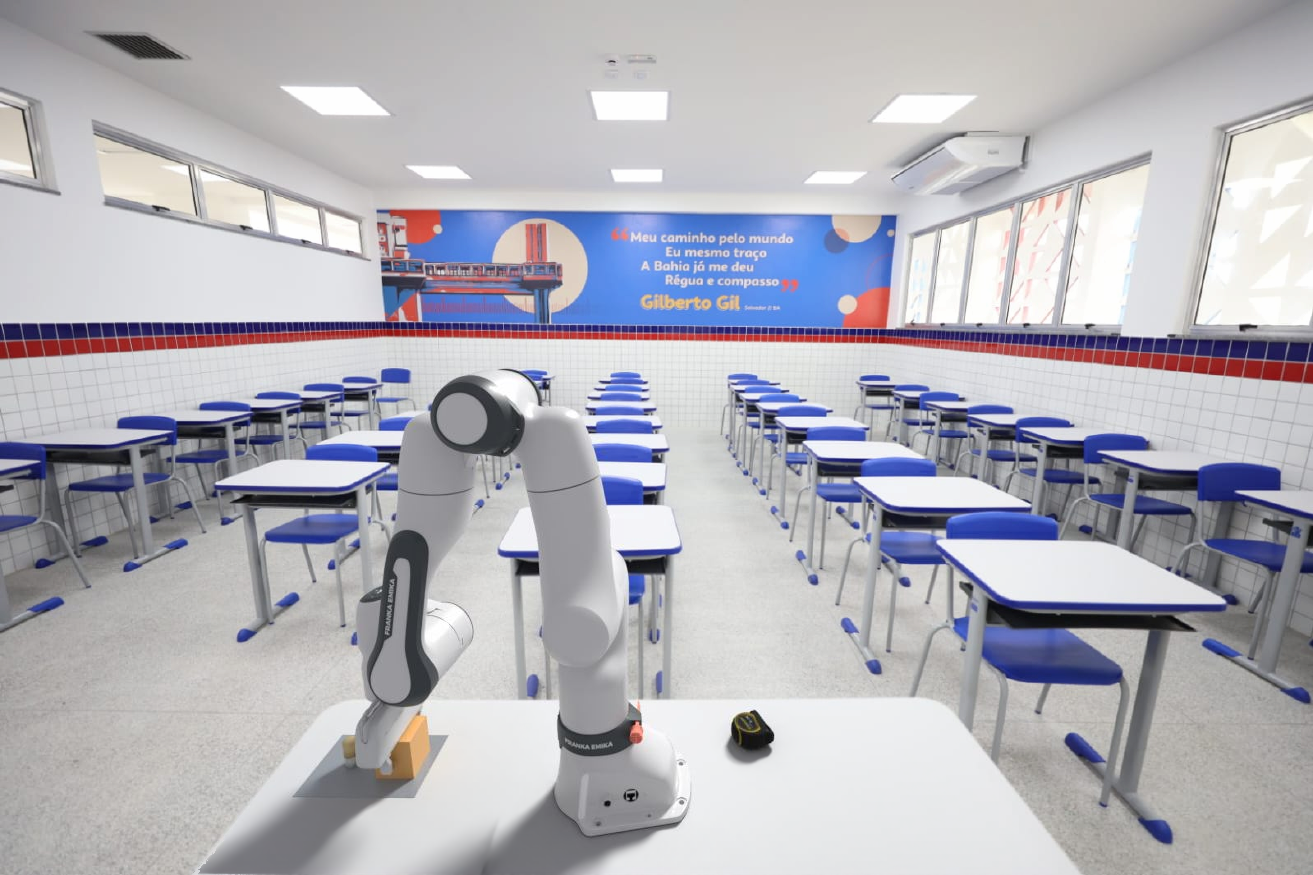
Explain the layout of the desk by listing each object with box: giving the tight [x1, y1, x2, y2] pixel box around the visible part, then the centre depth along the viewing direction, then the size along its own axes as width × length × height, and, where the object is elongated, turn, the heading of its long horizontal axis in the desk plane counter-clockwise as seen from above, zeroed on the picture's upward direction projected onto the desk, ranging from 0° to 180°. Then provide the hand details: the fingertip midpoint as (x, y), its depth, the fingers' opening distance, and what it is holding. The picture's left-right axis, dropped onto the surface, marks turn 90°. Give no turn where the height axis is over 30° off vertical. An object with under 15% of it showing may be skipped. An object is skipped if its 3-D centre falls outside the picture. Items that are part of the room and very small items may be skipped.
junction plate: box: [292, 734, 449, 799], centre depth 97 cm, size 20×14×6 cm
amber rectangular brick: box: [375, 715, 430, 779], centre depth 97 cm, size 6×6×7 cm
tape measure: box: [730, 709, 775, 750], centre depth 103 cm, size 7×7×4 cm
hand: (402, 750), depth 97 cm, fingers open, 8 cm apart
